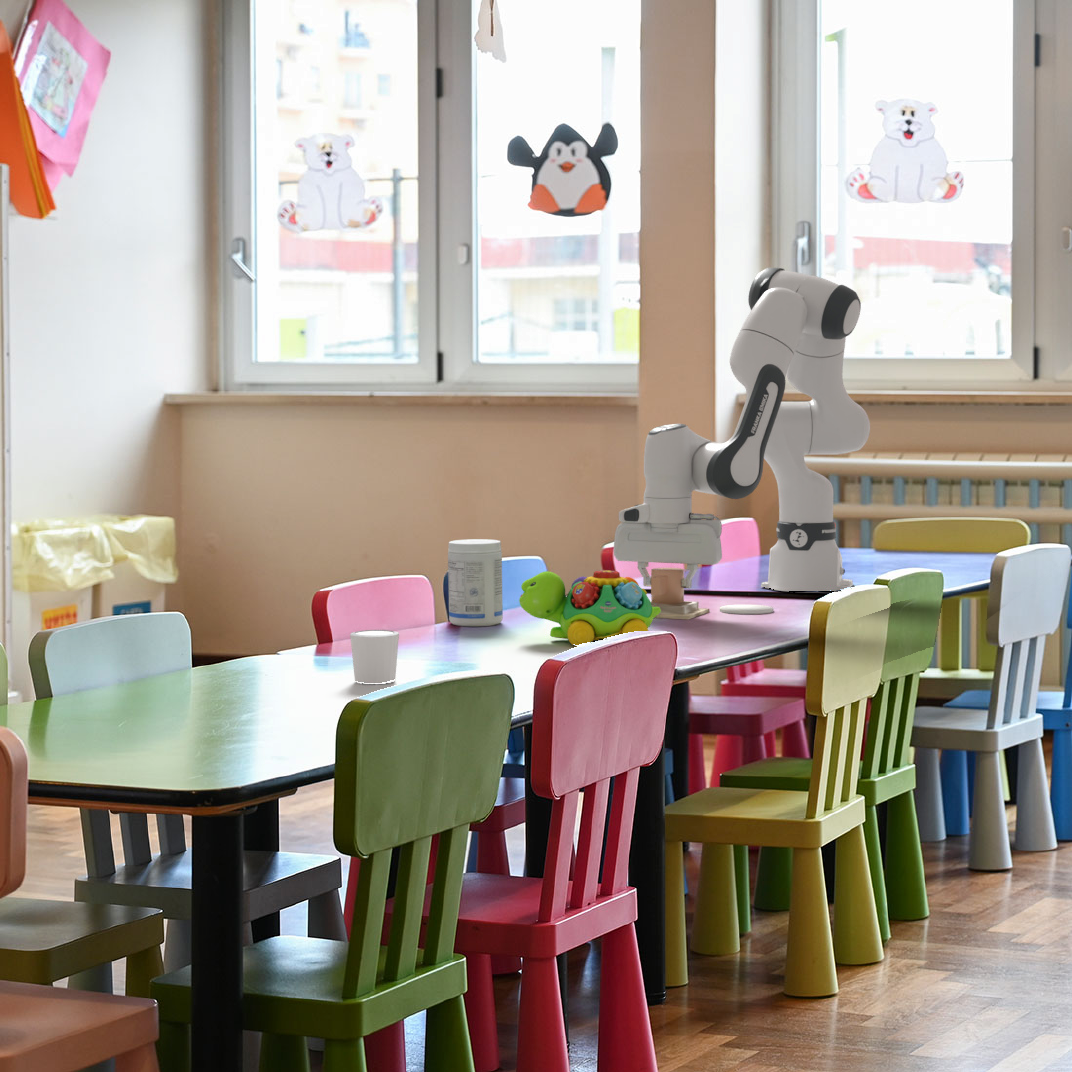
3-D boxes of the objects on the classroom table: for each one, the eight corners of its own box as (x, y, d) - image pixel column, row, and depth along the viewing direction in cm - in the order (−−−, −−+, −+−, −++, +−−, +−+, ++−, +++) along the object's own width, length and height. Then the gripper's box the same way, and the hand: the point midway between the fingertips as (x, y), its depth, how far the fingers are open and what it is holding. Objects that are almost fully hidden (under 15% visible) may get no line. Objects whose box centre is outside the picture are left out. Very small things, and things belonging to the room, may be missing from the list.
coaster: (728, 606, 329) (728, 603, 329) (779, 609, 325) (779, 606, 325) (712, 612, 320) (712, 609, 320) (764, 615, 316) (765, 612, 316)
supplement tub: (481, 618, 312) (480, 537, 310) (513, 624, 304) (513, 541, 303) (437, 623, 305) (437, 540, 304) (469, 628, 298) (469, 544, 297)
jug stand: (648, 608, 326) (648, 598, 326) (709, 611, 321) (709, 601, 321) (626, 616, 315) (626, 605, 315) (688, 619, 310) (688, 608, 310)
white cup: (343, 680, 244) (342, 631, 243) (387, 676, 247) (386, 628, 247) (362, 687, 238) (361, 637, 237) (407, 683, 241) (407, 633, 241)
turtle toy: (519, 635, 291) (518, 566, 290) (656, 634, 291) (656, 565, 291) (519, 649, 274) (519, 576, 273) (665, 649, 275) (665, 576, 274)
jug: (688, 600, 320) (688, 568, 319) (671, 607, 311) (671, 574, 310) (657, 598, 322) (657, 567, 322) (640, 605, 313) (640, 572, 313)
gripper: (727, 512, 315) (726, 587, 317) (622, 509, 324) (622, 582, 325) (716, 515, 310) (715, 591, 311) (610, 512, 318) (610, 586, 319)
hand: (667, 587), depth 318 cm, fingers closed on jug, 6 cm apart
